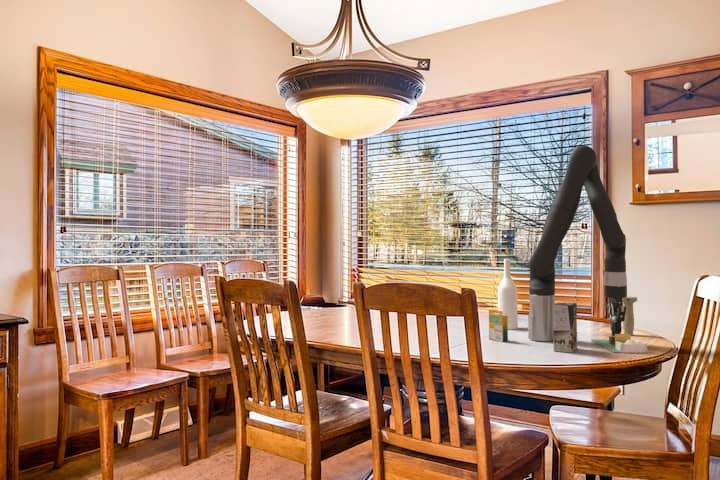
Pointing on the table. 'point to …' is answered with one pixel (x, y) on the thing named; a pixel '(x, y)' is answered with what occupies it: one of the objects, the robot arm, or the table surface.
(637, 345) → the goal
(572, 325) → the coffee box
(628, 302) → the handle
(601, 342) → the pitch
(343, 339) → the table surface
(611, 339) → the brown cardboard carton
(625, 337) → the long multicoloured device
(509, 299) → the bottle
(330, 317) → the table surface
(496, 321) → the crayon box
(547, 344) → the table surface
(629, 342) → the ball
